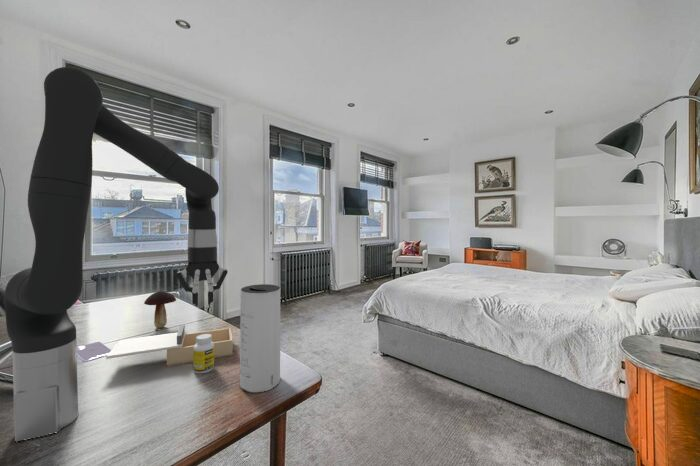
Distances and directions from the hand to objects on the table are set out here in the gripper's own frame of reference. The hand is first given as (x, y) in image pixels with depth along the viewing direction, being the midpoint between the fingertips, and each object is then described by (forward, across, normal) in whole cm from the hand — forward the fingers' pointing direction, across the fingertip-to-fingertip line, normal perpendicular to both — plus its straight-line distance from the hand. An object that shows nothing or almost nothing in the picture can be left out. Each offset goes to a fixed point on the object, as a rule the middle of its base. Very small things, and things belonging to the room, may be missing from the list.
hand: (203, 304), depth 83 cm
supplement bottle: (+19, 0, 0) cm, 19 cm away
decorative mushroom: (+19, -17, +44) cm, 51 cm away
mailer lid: (+14, -15, +12) cm, 24 cm away
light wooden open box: (+19, -1, +12) cm, 23 cm away
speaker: (+19, +14, -14) cm, 28 cm away
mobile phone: (+20, -34, +28) cm, 48 cm away
